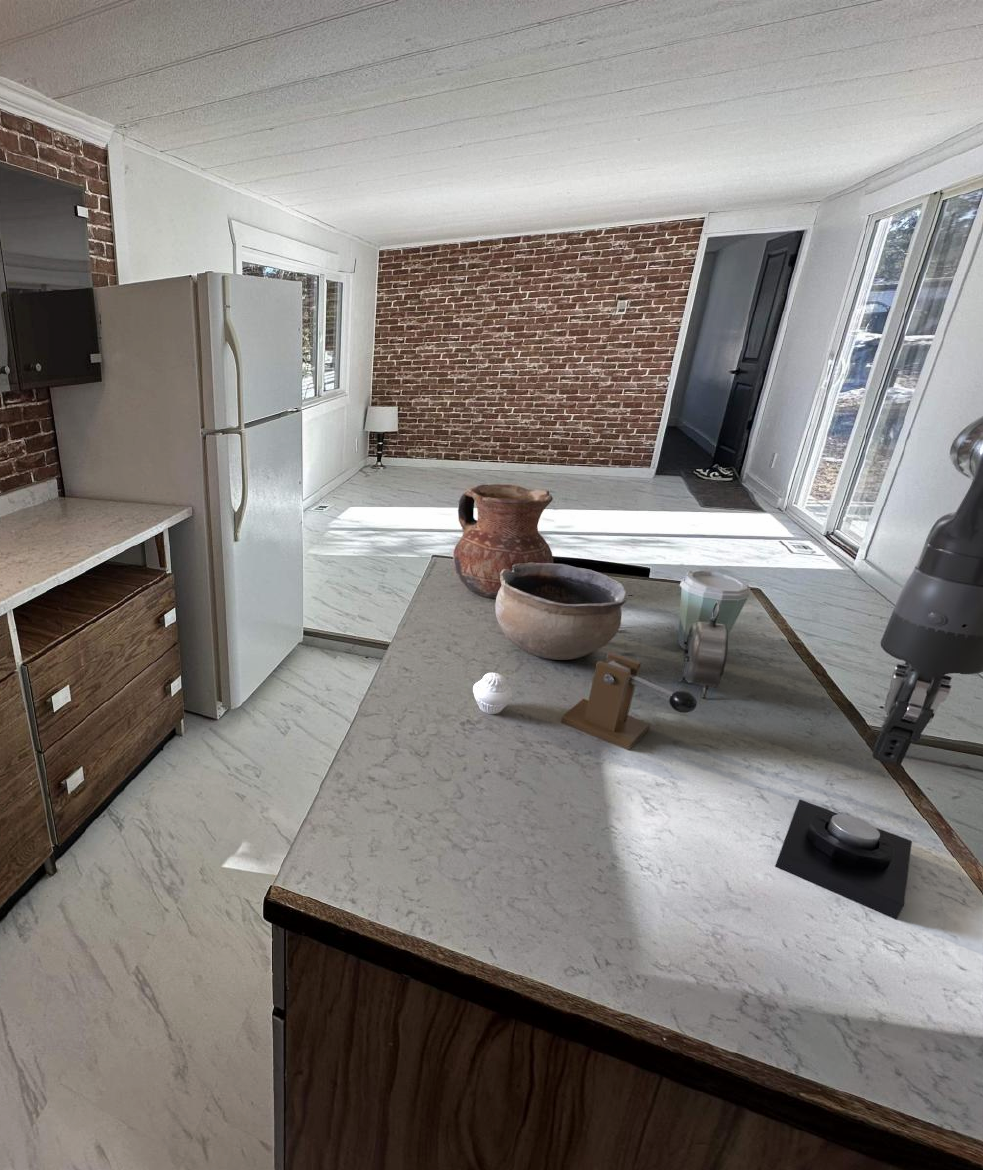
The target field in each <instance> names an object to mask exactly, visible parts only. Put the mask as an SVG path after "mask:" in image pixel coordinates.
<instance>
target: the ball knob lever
mask: <svg viewBox="0 0 983 1170" xmlns="http://www.w3.org/2000/svg"><path fill="white" fill-rule="evenodd" d="M608 664H611V665H614V666H617V667H620V668H623V669H626V670H629V671H631V669H632V668H630V667H628V666H626V665H623V664H621V663H619V662H616V661H614V660H612V661H610V662H609V663H608ZM628 683H631V684H633V685H635V687H638V688H640V689H641V690H644V691H646V692H649V693H651V694H652V695H655V696H658V697H660V698H662V699H664V700H666V701H668V703H669V705H670V707H671V708H672V709H673V710H674V711H676V712H678V713H681V714H686V713H687V714H689V713H691V712H693V711H694V710H695V709H696V708H697V705H698V702H697V698H696V697H695V695H694V694H693V693H691V692H690V691H687V690H677V691H674V692H673V691H671V690H669V689H666V688H664V687H662V686H659V685H657V684H656V683H653V682H650V681H648V680H646V679H644V678H641V677H639V676H638V677H637V676H634V675H632V674H630V677H629V681H628Z"/></svg>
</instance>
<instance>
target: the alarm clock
mask: <svg viewBox="0 0 983 1170" xmlns="http://www.w3.org/2000/svg"><path fill="white" fill-rule="evenodd" d="M717 604H718V609H717V614H716V617H714V611H715V608H716V605H717ZM719 611H720V603H719V602H716V603H715V604H714V607H713V611H712V617H711V618H710V623H707V622H696V623H694V624H693V625H692V626H691V628H690V630H689V633H688V637H687V642H684V644H686V647H685V649H684V657H683V671H682V676H681V678H680V679H679V680H678V683H680V682H682V681H683V680H686V682H687V683H688V684H689V683H690V684H694V685H697V686H698V685H699V686H701V695H700V696H701V699H706V698H707V693H708V688H709V687H711V688H717V687H719V686H720V684H721V681H722V679H723V676H724V672H725V667H726V663H727V655H728V646H729V635H728V630H727V627H726V625H724V624H716V621H717V617H718V615H719Z"/></svg>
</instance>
